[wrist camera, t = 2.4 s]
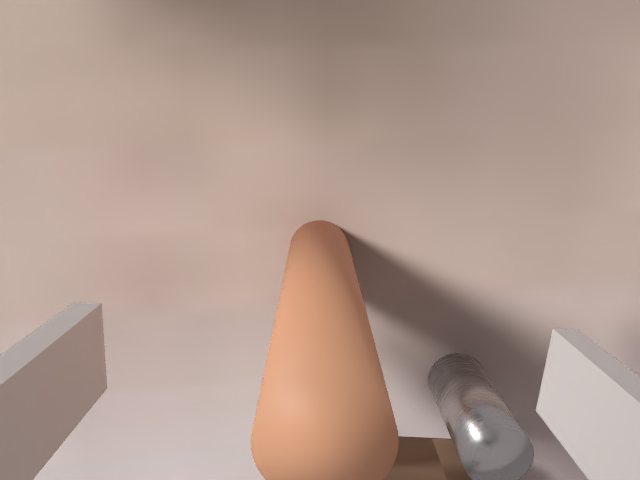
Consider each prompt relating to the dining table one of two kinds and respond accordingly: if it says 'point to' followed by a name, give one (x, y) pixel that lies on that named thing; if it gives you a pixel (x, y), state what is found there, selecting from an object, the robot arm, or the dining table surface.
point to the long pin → (323, 372)
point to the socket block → (427, 460)
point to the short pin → (479, 421)
